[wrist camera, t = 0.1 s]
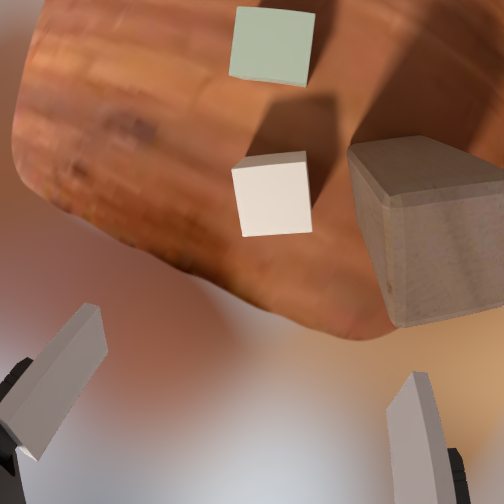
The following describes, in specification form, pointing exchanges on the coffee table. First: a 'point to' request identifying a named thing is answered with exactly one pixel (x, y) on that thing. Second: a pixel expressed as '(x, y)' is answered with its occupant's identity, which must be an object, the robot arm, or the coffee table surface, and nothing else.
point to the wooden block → (430, 227)
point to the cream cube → (273, 194)
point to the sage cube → (272, 45)
